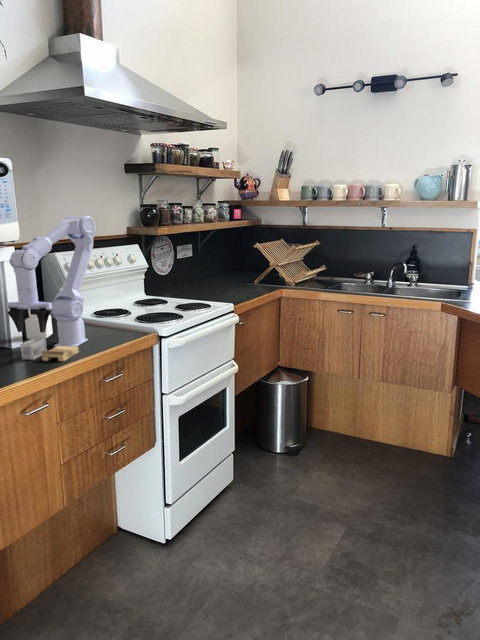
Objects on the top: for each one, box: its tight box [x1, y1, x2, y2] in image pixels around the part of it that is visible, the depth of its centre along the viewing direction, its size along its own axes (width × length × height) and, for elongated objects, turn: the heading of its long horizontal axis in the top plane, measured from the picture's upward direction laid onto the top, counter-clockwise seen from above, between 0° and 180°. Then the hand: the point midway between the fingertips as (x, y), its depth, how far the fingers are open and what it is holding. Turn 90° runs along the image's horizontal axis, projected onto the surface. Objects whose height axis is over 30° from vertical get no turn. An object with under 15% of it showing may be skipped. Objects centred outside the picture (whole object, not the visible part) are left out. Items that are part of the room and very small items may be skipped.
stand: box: [41, 346, 80, 362], centre depth 165 cm, size 10×7×3 cm
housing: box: [20, 338, 48, 361], centre depth 166 cm, size 8×4×5 cm, turn 171°
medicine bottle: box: [24, 309, 54, 340], centre depth 190 cm, size 7×7×12 cm
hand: (31, 331), depth 165 cm, fingers open, 7 cm apart
